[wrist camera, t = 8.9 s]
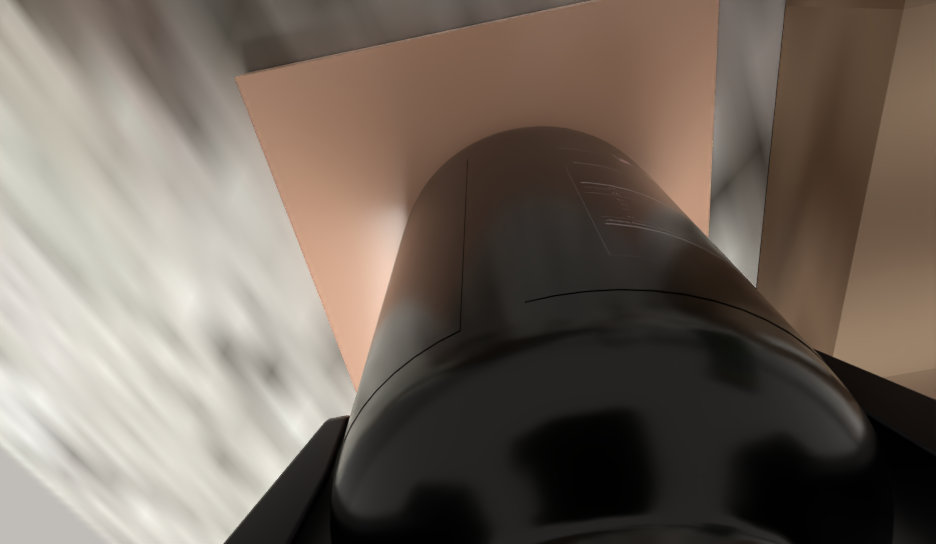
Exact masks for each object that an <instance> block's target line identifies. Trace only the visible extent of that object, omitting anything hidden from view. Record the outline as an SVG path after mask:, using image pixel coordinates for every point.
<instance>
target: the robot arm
mask: <svg viewBox="0 0 936 544" xmlns="http://www.w3.org/2000/svg"><path fill="white" fill-rule="evenodd" d="M814 350H815V351H816V352H817V354H818V355H819V356H820V357H821V358H822V359H823V360H824V361H825V362H826V363H827V365H828V366H829V367H830V369H831V370H832V371H833V372H834V373H835V375H836V376H837V377H838V378H839V379H840V380H841V382H842V383H843V384H844V385H845V387H846V388H847V389H848V390H849V392H850V393H851V394H852V395H853V397H854V398H855V399H856V401H857V402H858V403H859V404H860V406H861V407H862V408H863V410H864V411H865V413H866V415H867V417H868V419H869V420H870V422H871V424H872V426H873V428H874V430H875V432H876V434H877V436H878V438H879V441H880V443H881V446H882V449H883V452H884V455H885V458H886V462H887V465H888V469H889V474H890V479H891V486H892V492H893V501H894V534H893V542H892V544H936V399H933V398H931V397H928V396H926V395H924V394H921V393H919V392H916V391H914V390H912V389H909V388H907V387H904V386H902V385H900V384H897V383H895V382H892V381H890V380H888V379H885V378H883V377H880V376H878V375H876V374H873V373H871V372H868V371H866V370H864V369H861V368H859V367H856V366H854V365H852V364H849V363H847V362H845V361H842V360H840V359H837V358H835V357H833V356H830V355H828V354H825V353H823V352H821V351H818V350H816V349H814ZM349 418H350V416H341V417H336V418H331V419H328V420H327V421H326V422H325V423H324V424H323V425H322V426H321V427H320V429H319V430H318V431H317V432H316V433H315V435H314V436H313V437H312V438H311V439H310V441H309V442H308V443H307V444H306V445H305V447H304V448H303V449H302V450H301V451H300V453H299V454H298V455H297V456H296V457H295V459H294V460H293V461H292V462H291V463H290V465H289V466H288V467H287V468H286V469H285V471H284V472H283V473H282V474H281V475H280V477H279V478H278V479H277V480H276V481H275V483H274V484H273V485H272V486H271V487H270V489H269V490H268V491H267V492H266V493H265V495H264V496H263V497H262V498H261V499H260V501H259V502H258V503H257V504H256V505H255V506H254V508H253V509H252V510H251V511H250V512H249V514H248V515H247V516H246V517H245V518H244V520H243V521H242V522H241V523H240V524H239V526H238V527H237V528H236V529H235V530H234V532H233V533H232V534H231V535H230V536H229V538H228V539H227V540H226V541H225V542H224V544H332V543H331V537H330V516H329V509H330V499H331V492H332V486H333V481H334V476H335V471H336V468H337V461H338V457H339V454H340V450H341V446H342V443H343V439H344V436H345V432H346V429H347V425H348V422H349Z"/></svg>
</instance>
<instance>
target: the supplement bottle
mask: <svg viewBox="0 0 936 544" xmlns="http://www.w3.org/2000/svg"><path fill="white" fill-rule="evenodd" d="M329 516H330V537H331V543H332V544H892V542H893V534H894V501H893V492H892V486H891V479H890V474H889V469H888V465H887V462H886V458H885V455H884V452H883V449H882V446H881V443H880V441H879V438H878V436H877V434H876V432H875V430H874V428H873V426H872V424H871V422H870V420H869V419H868V417H867V415H866V413H865V411H864V410H863V408H862V407H861V406H860V404H859V403H858V402H857V401H856V399H855V398H854V397H853V395H852V394H851V393H850V392H849V390H848V389H847V388H846V387H845V385H844V384H843V383H842V382H841V380H840V379H839V378H838V377H837V376H836V375H835V373H834V372H833V371H832V370H831V369H830V367H829V366H828V365H827V363H826V362H825V361H824V360H823V359H822V358H821V357H820V356H819V355H818V354H817V352H816V351H815V350H814V349H813V348H812V347H811V346H810V345H809V344H808V343H807V342H806V341H805V340H804V339H803V338H802V337H801V336H800V334H799V333H798V332H797V331H796V330H795V329H794V328H793V327H792V326H791V325H790V324H789V323H788V322H787V321H786V320H785V319H784V317H783V316H782V315H781V314H780V313H779V312H778V311H777V310H776V309H775V308H774V307H773V306H772V305H771V304H770V303H769V302H768V301H767V300H766V298H765V297H764V296H763V295H762V294H761V293H760V292H759V291H758V290H757V289H756V288H755V287H754V286H753V285H752V284H751V283H750V282H749V281H748V279H747V278H746V277H745V276H744V275H743V274H742V273H741V272H740V271H739V270H738V269H737V268H736V267H735V266H734V265H733V264H732V263H731V262H730V260H729V259H728V258H727V257H726V256H725V255H724V254H723V253H722V252H721V251H720V250H719V249H718V248H717V247H716V246H715V245H714V244H713V242H712V241H711V240H710V239H709V238H708V237H707V236H706V235H705V234H704V233H703V232H702V231H701V230H700V229H699V228H698V227H697V226H696V225H695V223H694V222H693V221H692V220H691V219H690V218H689V217H688V216H687V215H686V214H685V213H684V212H683V211H682V210H681V209H680V208H679V207H678V206H677V204H676V203H675V202H674V201H673V200H672V199H671V198H670V197H669V196H668V195H667V194H666V193H665V192H664V191H663V190H662V189H661V188H660V187H659V185H658V184H657V183H656V182H655V181H654V180H653V179H652V178H651V177H650V176H649V175H648V174H647V173H646V172H645V171H644V170H643V169H641V168H640V167H639V166H638V165H637V164H636V163H635V162H634V161H633V160H632V159H631V158H630V157H628V156H627V155H626V154H624V153H623V152H622V151H621V150H619V149H617V148H616V147H614V146H613V145H611V144H609V143H608V142H606V141H604V140H602V139H599V138H597V137H595V136H593V135H590V134H587V133H584V132H581V131H577V130H573V129H568V128H561V127H553V126H533V127H522V128H516V129H511V130H507V131H503V132H499V133H496V134H493V135H491V136H488V137H485V138H483V139H481V140H479V141H477V142H475V143H473V144H471V145H469V146H467V147H466V148H464V149H463V150H461V151H459V152H458V153H457V154H455V155H454V156H453V157H451V158H450V159H449V160H448V161H446V162H445V163H444V164H443V165H442V166H441V167H440V168H439V169H438V170H437V171H436V172H435V173H434V175H433V176H432V177H431V178H430V179H429V180H428V182H427V183H426V185H425V186H424V188H423V189H422V191H421V192H420V194H419V196H418V198H417V200H416V201H415V203H414V205H413V207H412V210H411V212H410V215H409V217H408V220H407V223H406V226H405V229H404V232H403V235H402V239H401V242H400V246H399V249H398V252H397V256H396V259H395V263H394V266H393V270H392V273H391V277H390V280H389V284H388V287H387V290H386V294H385V297H384V301H383V304H382V308H381V311H380V315H379V318H378V322H377V325H376V329H375V332H374V335H373V339H372V342H371V346H370V349H369V353H368V356H367V360H366V363H365V367H364V370H363V373H362V377H361V380H360V384H359V387H358V391H357V394H356V398H355V401H354V405H353V408H352V412H351V415H350V418H349V422H348V425H347V429H346V432H345V436H344V439H343V443H342V446H341V450H340V454H339V457H338V461H337V468H336V471H335V476H334V481H333V486H332V492H331V499H330V509H329Z"/></svg>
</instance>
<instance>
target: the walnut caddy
mask: <svg viewBox="0 0 936 544" xmlns="http://www.w3.org/2000/svg"><path fill="white" fill-rule="evenodd" d="M757 290H758V291H759V292H760V293H761V294H762V295H763V296H764V297H765V298H766V300H767V301H768V302H769V303H770V304H771V305H772V306H773V307H774V308H775V309H776V310H777V311H778V312H779V313H780V314H781V315H782V316H783V317H784V319H785V320H786V321H787V322H788V323H789V324H790V325H791V326H792V327H793V328H794V329H795V330H796V331H797V332H798V333H799V334H800V336H801V337H802V338H803V339H804V340H805V341H806V342H807V343H808V344H809V345H810V346H811V347H812V348H813V349H816V350H818V351H821V352H823V353H825V354H828V355H830V356H833V357H835V358H837V359H840V360H842V361H845V362H847V363H849V364H852V365H854V366H856V367H859V368H861V369H864V370H866V371H868V372H871V373H873V374H876V375H878V376H880V377H883V378H885V379H888V380H890V381H892V382H895V383H897V384H900V385H902V386H904V387H907V388H909V389H912V390H914V391H916V392H919V393H921V394H924V395H926V396H928V397H931V398H933V399H936V0H786V9H785V19H784V28H783V38H782V48H781V58H780V67H779V77H778V87H777V96H776V106H775V116H774V125H773V135H772V145H771V154H770V164H769V174H768V183H767V193H766V203H765V212H764V222H763V232H762V242H761V251H760V261H759V271H758V280H757Z"/></svg>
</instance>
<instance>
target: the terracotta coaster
mask: <svg viewBox="0 0 936 544" xmlns="http://www.w3.org/2000/svg"><path fill="white" fill-rule="evenodd" d="M718 20H719V0H589V1H584V2H580V3H575V4H570V5H565V6H561V7H556V8H551V9H546V10H542V11H537V12H532V13H528V14H523V15H518V16H513V17H509V18H504V19H499V20H494V21H490V22H485V23H480V24H475V25H471V26H466V27H461V28H456V29H452V30H447V31H442V32H438V33H433V34H428V35H423V36H419V37H414V38H409V39H404V40H400V41H395V42H390V43H385V44H381V45H376V46H371V47H366V48H362V49H357V50H352V51H348V52H343V53H338V54H333V55H329V56H324V57H319V58H314V59H310V60H305V61H300V62H295V63H291V64H286V65H281V66H277V67H272V68H267V69H262V70H258V71H253V72H248V73H245V74H242V75H240V76H237V77H235V80H236V82H237V85H238V88H239V90H240V93H241V95H242V98H243V101H244V103H245V106H246V108H247V111H248V113H249V116H250V119H251V121H252V124H253V126H254V129H255V132H256V134H257V137H258V139H259V142H260V144H261V147H262V150H263V152H264V155H265V157H266V160H267V163H268V165H269V168H270V170H271V173H272V175H273V178H274V181H275V183H276V186H277V188H278V191H279V194H280V196H281V199H282V201H283V204H284V206H285V209H286V212H287V214H288V217H289V219H290V222H291V225H292V227H293V230H294V232H295V235H296V237H297V240H298V243H299V245H300V248H301V250H302V253H303V256H304V258H305V261H306V263H307V266H308V268H309V271H310V274H311V276H312V279H313V281H314V284H315V287H316V289H317V292H318V294H319V297H320V299H321V302H322V305H323V307H324V310H325V312H326V315H327V318H328V320H329V323H330V325H331V328H332V330H333V333H334V336H335V338H336V341H337V343H338V346H339V349H340V351H341V354H342V356H343V359H344V361H345V364H346V367H347V369H348V372H349V374H350V377H351V380H352V382H353V385H354V387H355V390H356V392H357V391H358V387H359V384H360V380H361V377H362V373H363V370H364V367H365V363H366V360H367V356H368V353H369V349H370V346H371V342H372V339H373V335H374V332H375V329H376V325H377V322H378V318H379V315H380V311H381V308H382V304H383V301H384V297H385V294H386V290H387V287H388V284H389V280H390V277H391V273H392V270H393V266H394V263H395V259H396V256H397V252H398V249H399V246H400V242H401V239H402V235H403V232H404V229H405V226H406V223H407V220H408V217H409V215H410V212H411V210H412V207H413V205H414V203H415V201H416V200H417V198H418V196H419V194H420V192H421V191H422V189H423V188H424V186H425V185H426V183H427V182H428V180H429V179H430V178H431V177H432V176H433V175H434V173H435V172H436V171H437V170H438V169H439V168H440V167H441V166H442V165H443V164H444V163H445V162H446V161H448V160H449V159H450V158H451V157H453V156H454V155H455V154H457V153H458V152H459V151H461V150H463V149H464V148H466V147H467V146H469V145H471V144H473V143H475V142H477V141H479V140H481V139H483V138H485V137H488V136H491V135H493V134H496V133H499V132H503V131H507V130H511V129H516V128H522V127H533V126H553V127H561V128H568V129H573V130H577V131H581V132H584V133H587V134H590V135H593V136H595V137H597V138H599V139H602V140H604V141H606V142H608V143H609V144H611V145H613V146H614V147H616V148H617V149H619V150H621V151H622V152H623V153H624V154H626V155H627V156H628V157H630V158H631V159H632V160H633V161H634V162H635V163H636V164H637V165H638V166H639V167H640V168H641V169H643V170H644V171H645V172H646V173H647V174H648V175H649V176H650V177H651V178H652V179H653V180H654V181H655V182H656V183H657V184H658V185H659V187H660V188H661V189H662V190H663V191H664V192H665V193H666V194H667V195H668V196H669V197H670V198H671V199H672V200H673V201H674V202H675V203H676V204H677V206H678V207H679V208H680V209H681V210H682V211H683V212H684V213H685V214H686V215H687V216H688V217H689V218H690V219H691V220H692V221H693V222H694V223H695V225H696V226H697V227H698V228H699V229H700V230H701V231H702V232H703V233H704V234H705V235H706V236H707V237H708V234H709V213H710V191H711V170H712V149H713V127H714V106H715V84H716V63H717V42H718Z"/></svg>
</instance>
